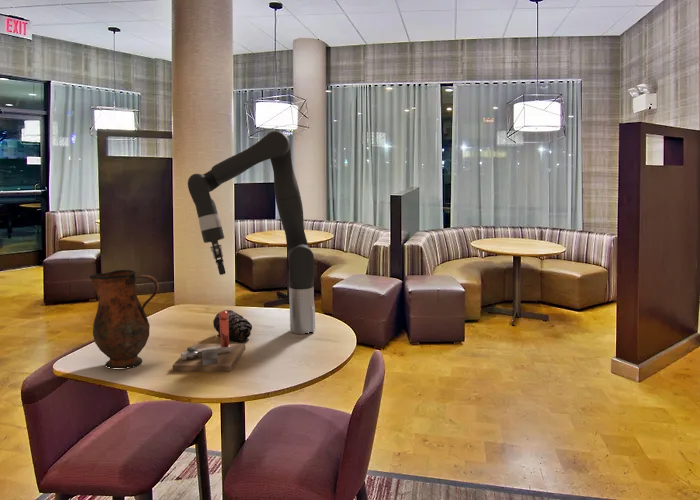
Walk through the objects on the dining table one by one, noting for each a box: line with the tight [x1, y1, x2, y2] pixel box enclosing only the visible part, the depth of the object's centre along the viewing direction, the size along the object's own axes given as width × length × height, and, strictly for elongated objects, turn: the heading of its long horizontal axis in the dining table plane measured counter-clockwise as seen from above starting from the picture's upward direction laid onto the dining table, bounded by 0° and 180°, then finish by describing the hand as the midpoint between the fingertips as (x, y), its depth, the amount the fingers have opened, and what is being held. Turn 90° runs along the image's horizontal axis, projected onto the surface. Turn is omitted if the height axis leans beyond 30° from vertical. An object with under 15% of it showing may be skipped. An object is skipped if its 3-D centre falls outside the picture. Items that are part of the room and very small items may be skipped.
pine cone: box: [212, 309, 253, 345], centre depth 197 cm, size 10×18×10 cm, turn 55°
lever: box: [180, 310, 231, 360], centre depth 173 cm, size 16×4×14 cm, turn 119°
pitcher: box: [89, 269, 160, 369], centre depth 170 cm, size 17×21×30 cm
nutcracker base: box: [171, 343, 247, 373], centre depth 175 cm, size 18×20×6 cm
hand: (222, 274), depth 195 cm, fingers closed
